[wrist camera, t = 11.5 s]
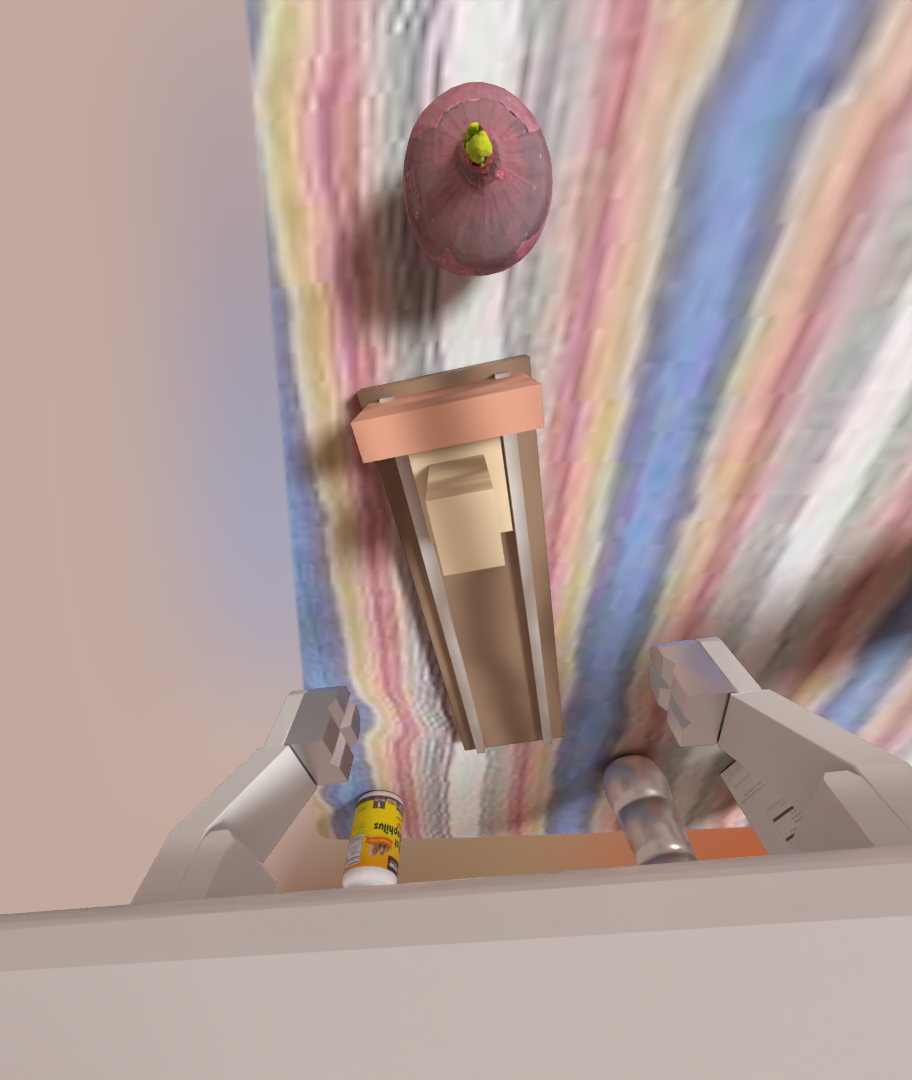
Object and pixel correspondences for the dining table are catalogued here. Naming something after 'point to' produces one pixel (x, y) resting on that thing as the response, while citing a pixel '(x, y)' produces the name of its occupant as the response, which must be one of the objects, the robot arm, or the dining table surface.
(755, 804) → the supplement box
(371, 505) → the dining table surface
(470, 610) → the rail board
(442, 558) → the block
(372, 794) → the supplement bottle
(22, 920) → the robot arm
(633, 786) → the plastic bottle
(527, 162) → the vegetable
